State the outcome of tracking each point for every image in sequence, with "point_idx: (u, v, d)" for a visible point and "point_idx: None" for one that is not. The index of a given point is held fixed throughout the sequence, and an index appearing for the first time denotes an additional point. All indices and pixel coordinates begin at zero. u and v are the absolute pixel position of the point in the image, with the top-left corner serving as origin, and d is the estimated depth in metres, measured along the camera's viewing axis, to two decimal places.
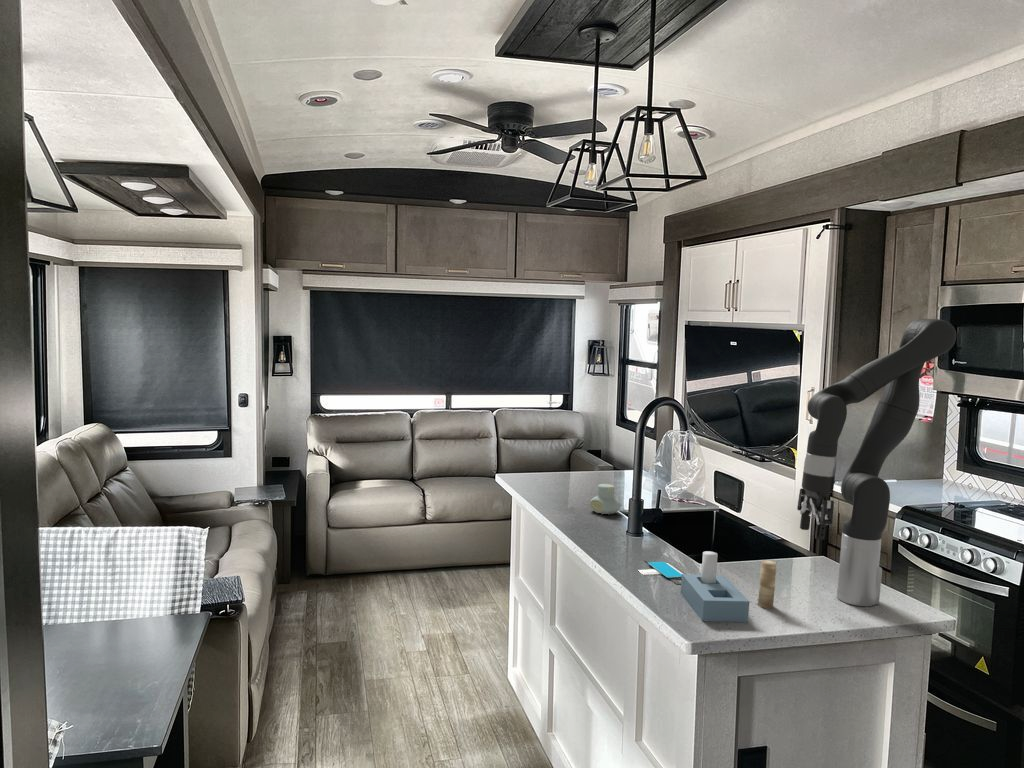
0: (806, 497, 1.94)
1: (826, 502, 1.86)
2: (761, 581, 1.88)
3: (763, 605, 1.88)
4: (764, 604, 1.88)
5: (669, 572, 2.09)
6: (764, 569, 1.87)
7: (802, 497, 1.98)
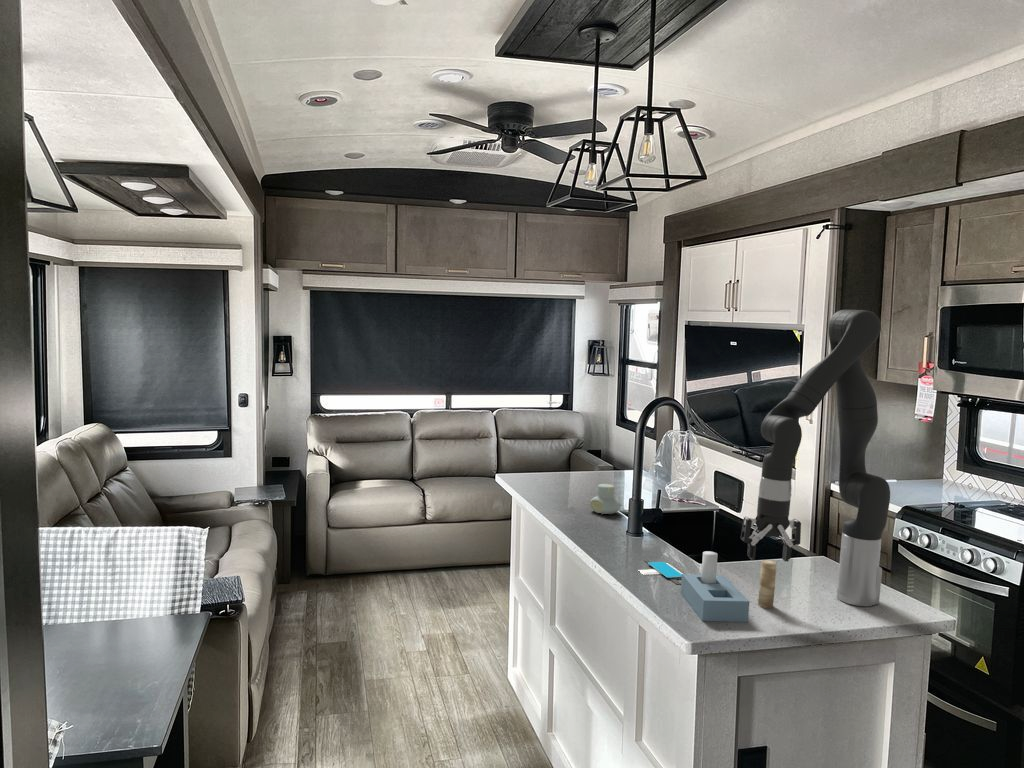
0: (770, 525, 1.85)
1: None
2: (761, 581, 1.88)
3: (763, 605, 1.88)
4: (764, 604, 1.88)
5: (669, 572, 2.09)
6: (764, 569, 1.87)
7: None
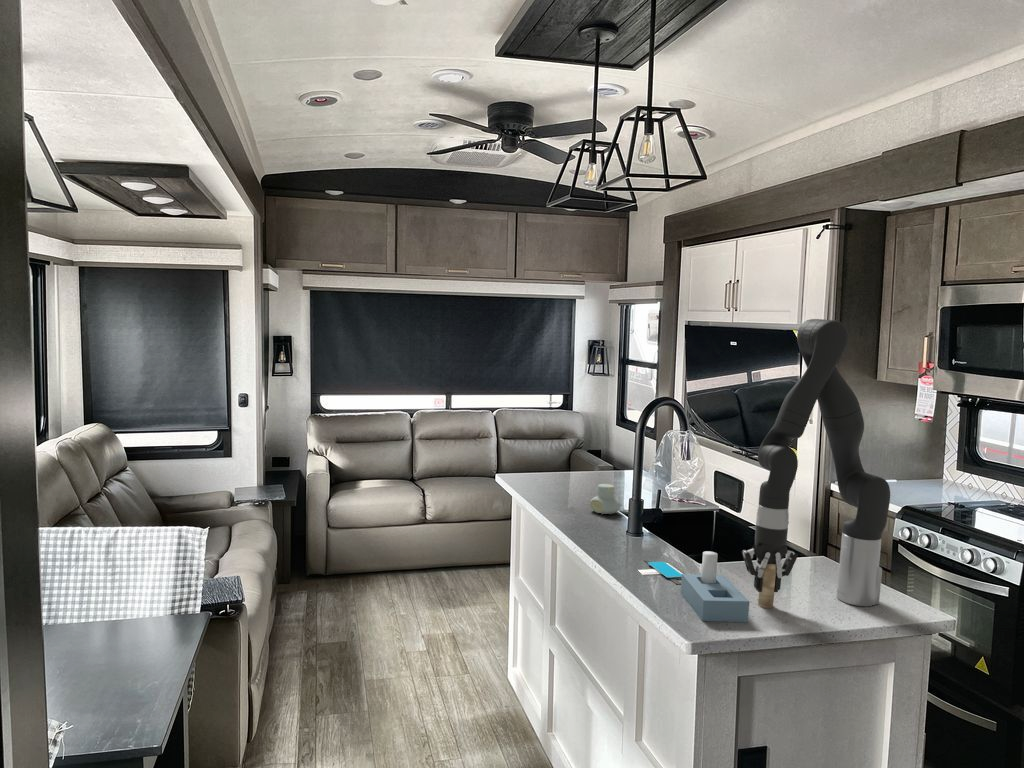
0: (767, 553, 1.86)
1: None
2: None
3: (763, 605, 1.88)
4: (764, 604, 1.88)
5: (669, 572, 2.09)
6: None
7: None
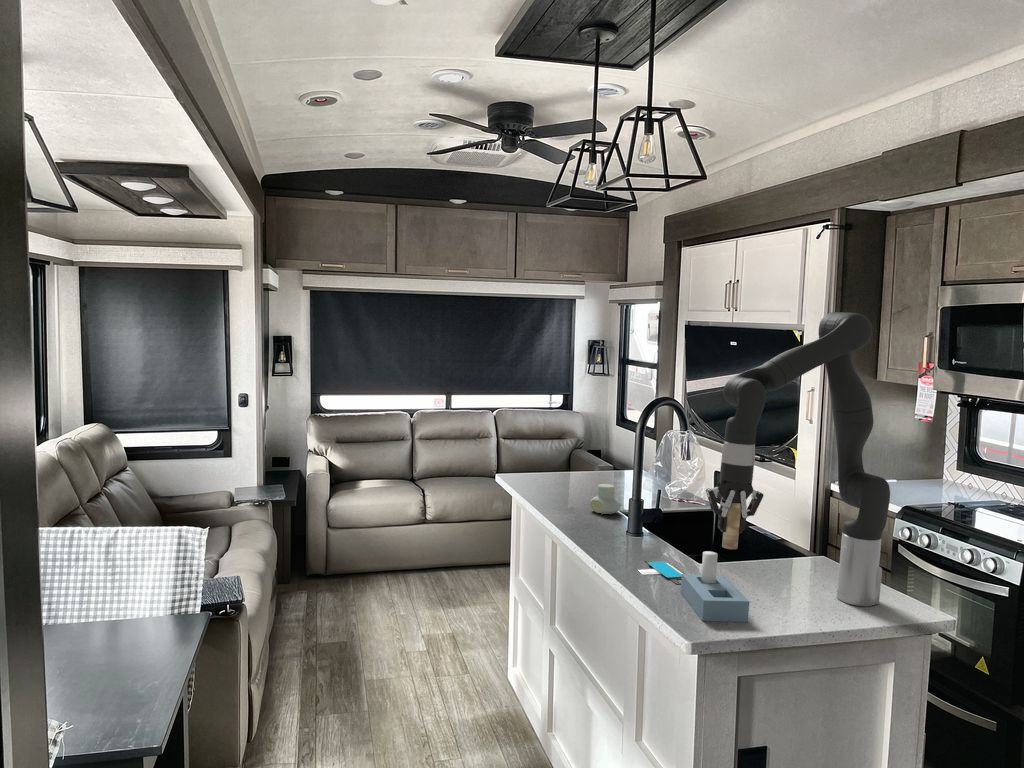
0: (732, 491, 1.79)
1: None
2: None
3: (727, 546, 1.81)
4: (728, 545, 1.80)
5: (669, 572, 2.09)
6: (729, 508, 1.80)
7: None
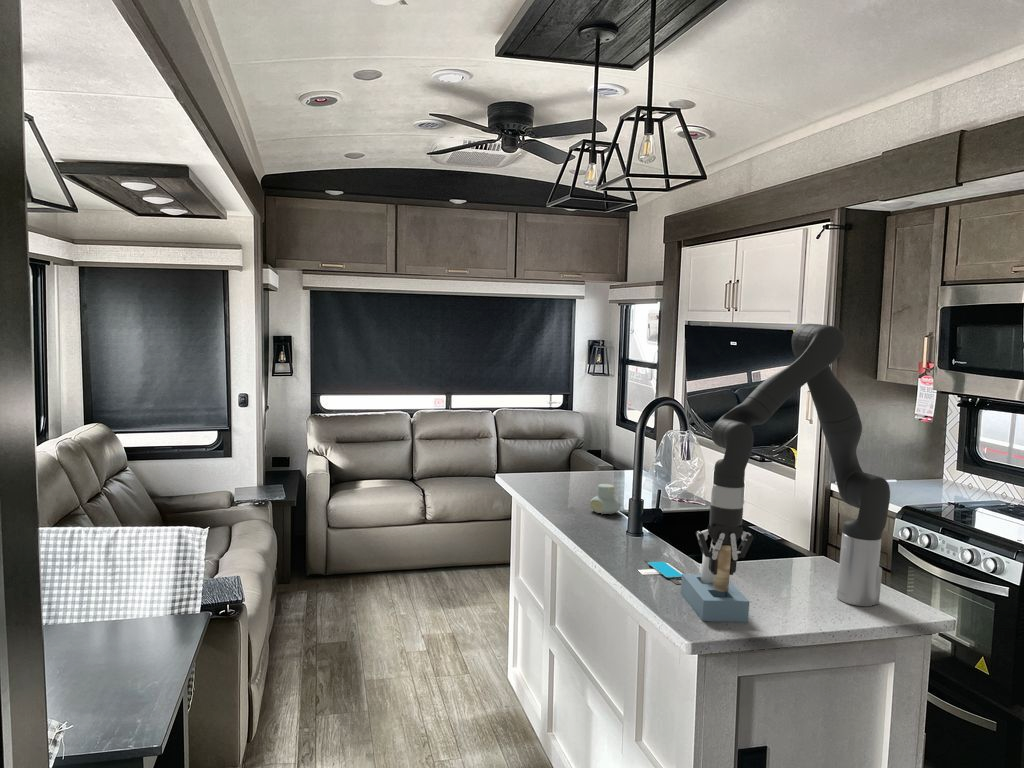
0: (722, 534, 1.79)
1: None
2: None
3: (718, 588, 1.80)
4: (719, 587, 1.80)
5: (669, 572, 2.09)
6: None
7: None
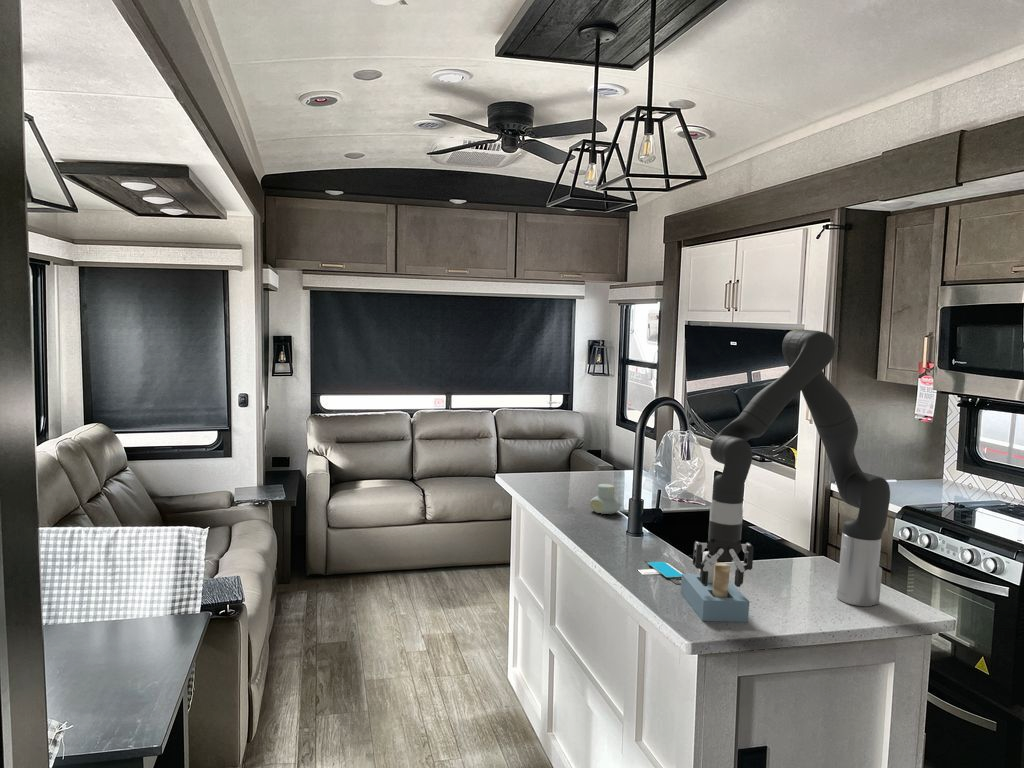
0: (721, 550, 1.79)
1: None
2: (714, 584, 1.81)
3: None
4: None
5: (669, 572, 2.09)
6: (717, 572, 1.80)
7: None
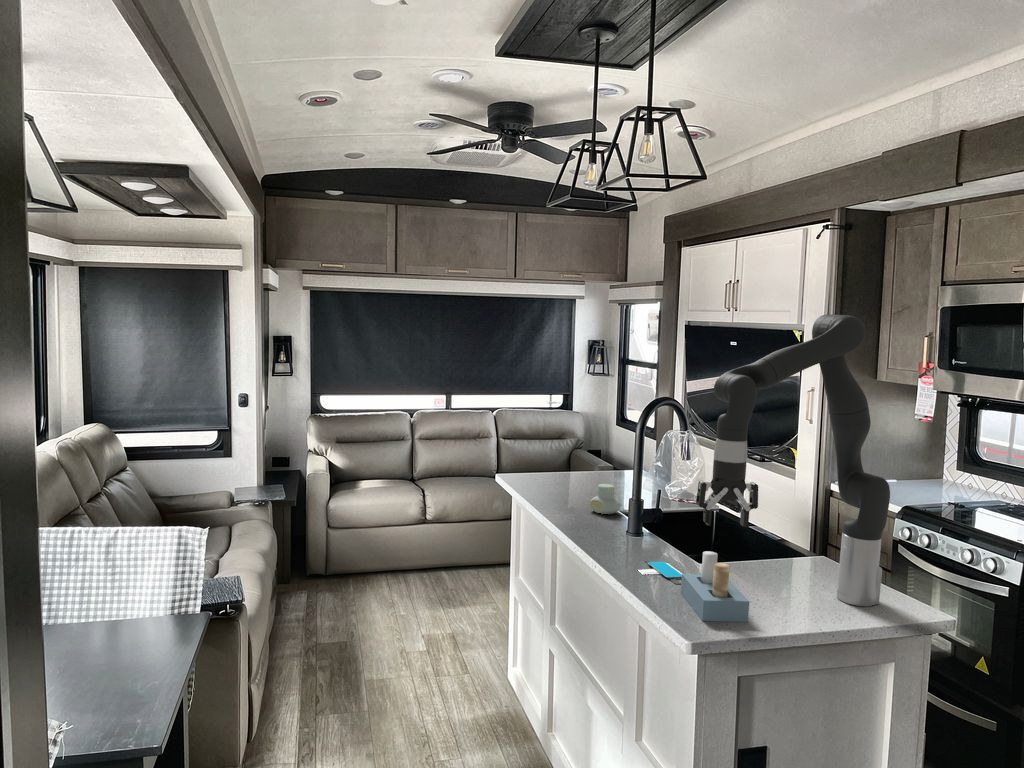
0: (725, 489, 1.78)
1: None
2: (714, 584, 1.81)
3: None
4: None
5: (668, 572, 2.09)
6: (717, 572, 1.80)
7: None
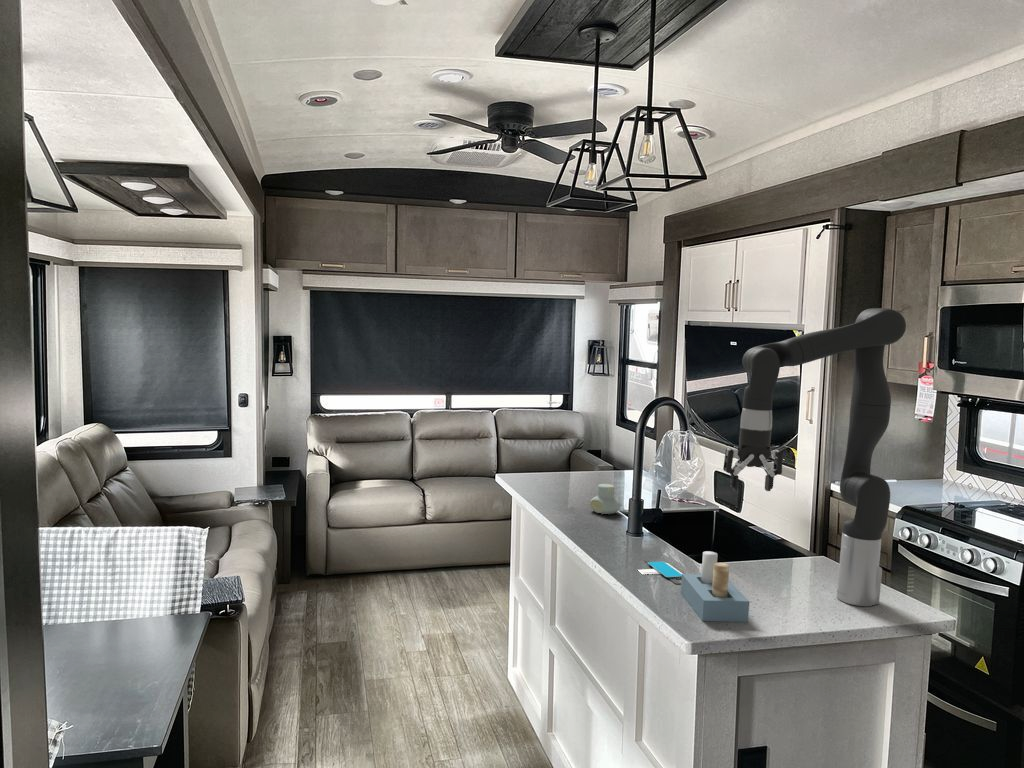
0: (751, 455, 1.89)
1: None
2: (713, 584, 1.81)
3: None
4: None
5: (668, 572, 2.09)
6: (716, 571, 1.81)
7: None
